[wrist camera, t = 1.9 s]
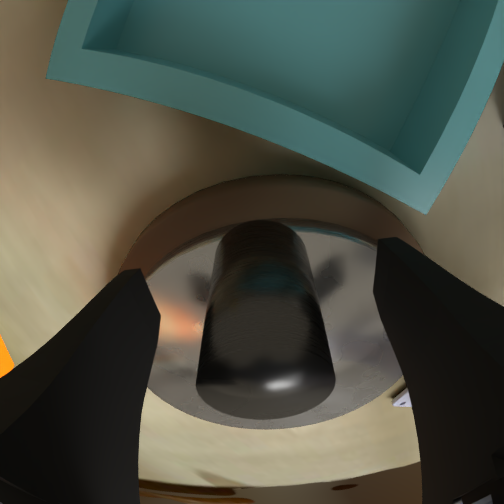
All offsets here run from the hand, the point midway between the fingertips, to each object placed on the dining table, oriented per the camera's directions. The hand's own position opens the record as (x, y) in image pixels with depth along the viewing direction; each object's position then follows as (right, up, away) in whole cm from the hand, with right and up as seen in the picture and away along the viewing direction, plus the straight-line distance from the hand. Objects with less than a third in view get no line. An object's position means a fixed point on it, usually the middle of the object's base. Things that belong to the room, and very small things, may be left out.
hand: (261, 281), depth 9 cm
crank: (+1, -4, +5) cm, 6 cm away
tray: (+2, +10, -2) cm, 11 cm away
